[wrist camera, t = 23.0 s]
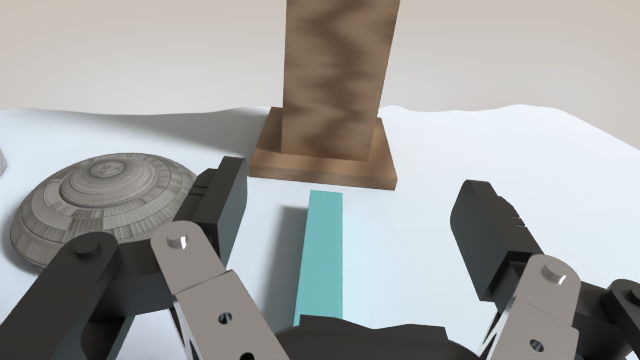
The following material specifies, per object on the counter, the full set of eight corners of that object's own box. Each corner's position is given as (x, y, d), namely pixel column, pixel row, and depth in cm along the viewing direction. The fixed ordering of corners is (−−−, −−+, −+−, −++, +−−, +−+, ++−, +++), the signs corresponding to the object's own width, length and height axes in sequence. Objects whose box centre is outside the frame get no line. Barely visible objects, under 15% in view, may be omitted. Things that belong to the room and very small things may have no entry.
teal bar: (263, 574, 15) (263, 559, 13) (308, 214, 35) (310, 189, 33) (333, 581, 15) (342, 567, 13) (338, 217, 35) (342, 193, 33)
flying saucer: (133, 310, 24) (115, 255, 21) (-33, 251, 27) (-70, 194, 24) (236, 192, 37) (234, 146, 33) (114, 159, 39) (102, 114, 36)
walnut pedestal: (249, 176, 39) (240, -277, 21) (271, 116, 52) (276, -192, 34) (394, 190, 39) (508, -242, 21) (379, 127, 52) (441, -172, 34)
